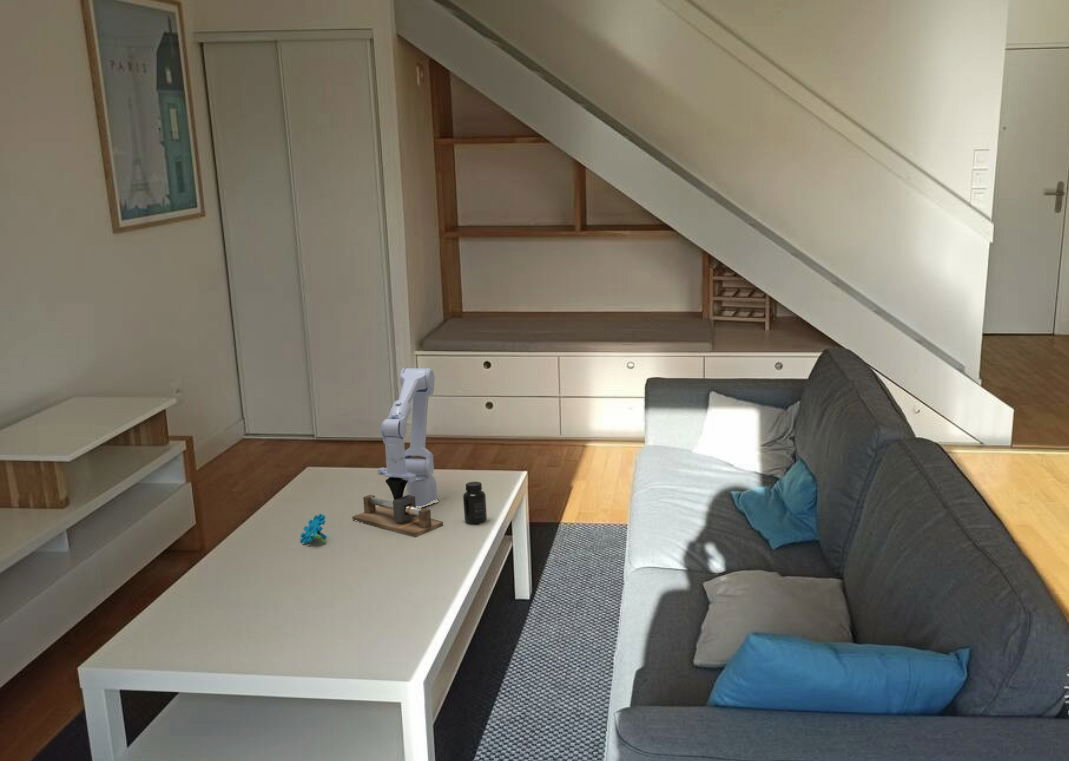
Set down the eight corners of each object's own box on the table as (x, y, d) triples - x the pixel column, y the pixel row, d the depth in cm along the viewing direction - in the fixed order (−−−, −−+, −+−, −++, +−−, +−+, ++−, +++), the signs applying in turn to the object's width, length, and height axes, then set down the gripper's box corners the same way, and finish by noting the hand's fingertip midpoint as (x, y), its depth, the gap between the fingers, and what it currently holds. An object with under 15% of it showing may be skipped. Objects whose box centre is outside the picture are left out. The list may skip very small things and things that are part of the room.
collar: (409, 514, 306) (408, 494, 305) (416, 516, 305) (415, 496, 303) (394, 520, 302) (392, 500, 300) (401, 522, 300) (399, 502, 298)
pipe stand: (381, 509, 318) (379, 490, 317) (443, 525, 302) (442, 504, 301) (352, 520, 309) (351, 500, 308) (415, 537, 293) (413, 516, 292)
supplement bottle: (488, 517, 307) (486, 480, 305) (485, 525, 301) (483, 487, 298) (466, 517, 308) (464, 480, 306) (462, 525, 302) (460, 487, 299)
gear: (296, 531, 296) (319, 506, 296) (311, 542, 299) (334, 517, 299) (301, 549, 286) (325, 523, 286) (317, 559, 289) (340, 534, 289)
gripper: (369, 457, 302) (372, 500, 305) (403, 464, 293) (405, 508, 296) (386, 451, 308) (389, 494, 310) (420, 458, 299) (422, 502, 301)
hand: (398, 500), depth 304 cm, fingers closed
